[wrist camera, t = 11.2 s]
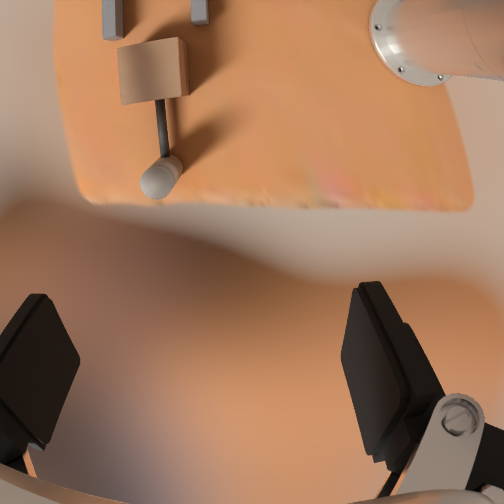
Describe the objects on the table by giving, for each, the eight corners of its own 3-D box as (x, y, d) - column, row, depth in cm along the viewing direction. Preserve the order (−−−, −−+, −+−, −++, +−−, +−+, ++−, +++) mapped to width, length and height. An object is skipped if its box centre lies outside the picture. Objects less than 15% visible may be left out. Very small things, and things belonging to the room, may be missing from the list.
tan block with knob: (187, 43, 28) (174, 34, 22) (197, 177, 36) (187, 197, 30) (133, 52, 28) (111, 47, 22) (147, 182, 36) (129, 202, 30)
